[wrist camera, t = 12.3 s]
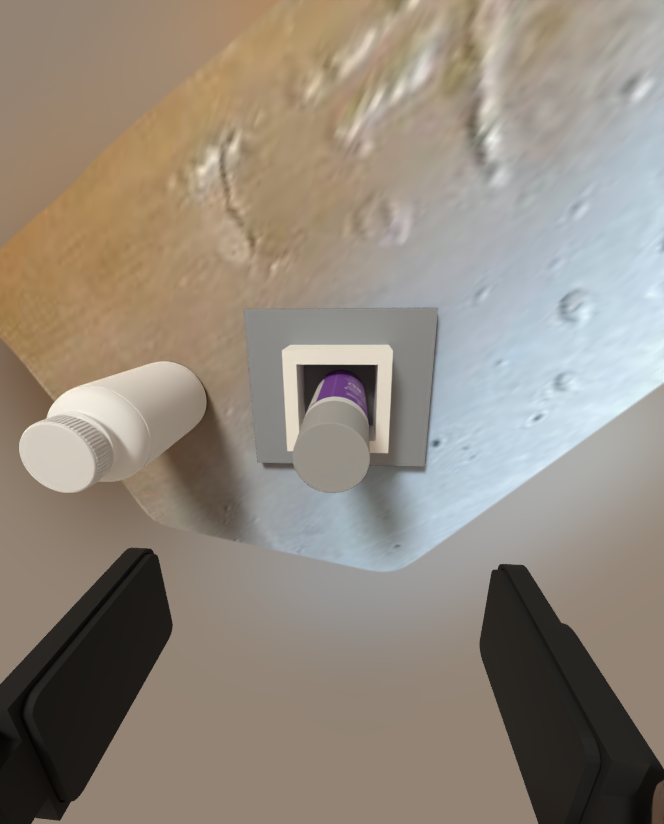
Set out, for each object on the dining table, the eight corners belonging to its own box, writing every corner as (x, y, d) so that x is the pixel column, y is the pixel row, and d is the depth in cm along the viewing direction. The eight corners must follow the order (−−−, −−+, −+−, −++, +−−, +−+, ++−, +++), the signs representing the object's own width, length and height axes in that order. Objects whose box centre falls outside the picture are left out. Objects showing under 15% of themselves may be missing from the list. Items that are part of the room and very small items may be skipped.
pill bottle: (182, 444, 38) (78, 530, 24) (123, 397, 37) (-24, 457, 22) (224, 396, 36) (137, 458, 22) (163, 343, 34) (28, 373, 20)
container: (371, 377, 33) (384, 435, 18) (355, 420, 34) (356, 504, 20) (325, 362, 32) (302, 409, 18) (312, 405, 34) (281, 481, 20)
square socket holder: (435, 307, 32) (449, 308, 27) (422, 461, 36) (432, 486, 32) (247, 309, 33) (228, 310, 28) (260, 457, 38) (245, 480, 33)
